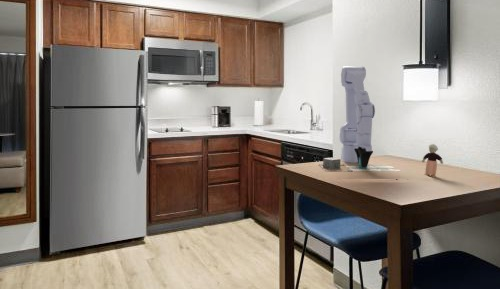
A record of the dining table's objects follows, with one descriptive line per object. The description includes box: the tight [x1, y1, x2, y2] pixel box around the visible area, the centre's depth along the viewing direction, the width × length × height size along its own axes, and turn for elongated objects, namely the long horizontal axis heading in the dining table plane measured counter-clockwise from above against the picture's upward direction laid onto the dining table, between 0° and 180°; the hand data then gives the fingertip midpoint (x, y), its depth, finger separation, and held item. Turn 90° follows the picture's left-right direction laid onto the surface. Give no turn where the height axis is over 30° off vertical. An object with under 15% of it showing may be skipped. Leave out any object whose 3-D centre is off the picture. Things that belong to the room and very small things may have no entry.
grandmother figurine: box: [421, 143, 444, 178], centre depth 151 cm, size 8×4×13 cm, turn 62°
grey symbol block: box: [322, 157, 342, 170], centre depth 162 cm, size 5×5×5 cm
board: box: [318, 164, 401, 172], centre depth 161 cm, size 14×31×1 cm, turn 91°
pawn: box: [357, 157, 367, 169], centre depth 161 cm, size 3×3×7 cm
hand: (362, 166), depth 161 cm, fingers closed on pawn, 3 cm apart
